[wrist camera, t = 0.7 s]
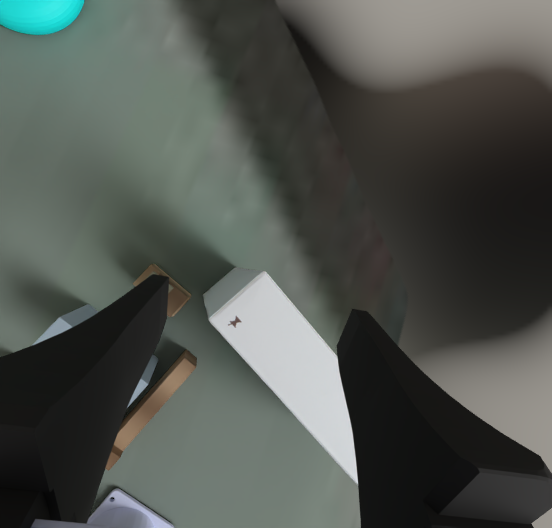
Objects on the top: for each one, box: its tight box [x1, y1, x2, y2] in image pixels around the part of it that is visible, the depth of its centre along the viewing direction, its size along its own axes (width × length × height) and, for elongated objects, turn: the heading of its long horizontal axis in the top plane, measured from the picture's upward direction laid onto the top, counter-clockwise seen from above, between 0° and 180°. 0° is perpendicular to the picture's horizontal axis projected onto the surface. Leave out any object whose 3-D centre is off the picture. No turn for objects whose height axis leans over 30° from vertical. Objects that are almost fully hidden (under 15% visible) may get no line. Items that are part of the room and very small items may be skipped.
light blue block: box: [33, 304, 159, 408], centre depth 31 cm, size 3×9×7 cm, turn 47°
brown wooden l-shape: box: [105, 350, 197, 471], centre depth 32 cm, size 12×14×4 cm
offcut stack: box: [133, 264, 191, 317], centre depth 33 cm, size 2×5×4 cm, turn 47°
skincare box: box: [203, 267, 358, 485], centre depth 30 cm, size 21×5×16 cm, turn 40°
